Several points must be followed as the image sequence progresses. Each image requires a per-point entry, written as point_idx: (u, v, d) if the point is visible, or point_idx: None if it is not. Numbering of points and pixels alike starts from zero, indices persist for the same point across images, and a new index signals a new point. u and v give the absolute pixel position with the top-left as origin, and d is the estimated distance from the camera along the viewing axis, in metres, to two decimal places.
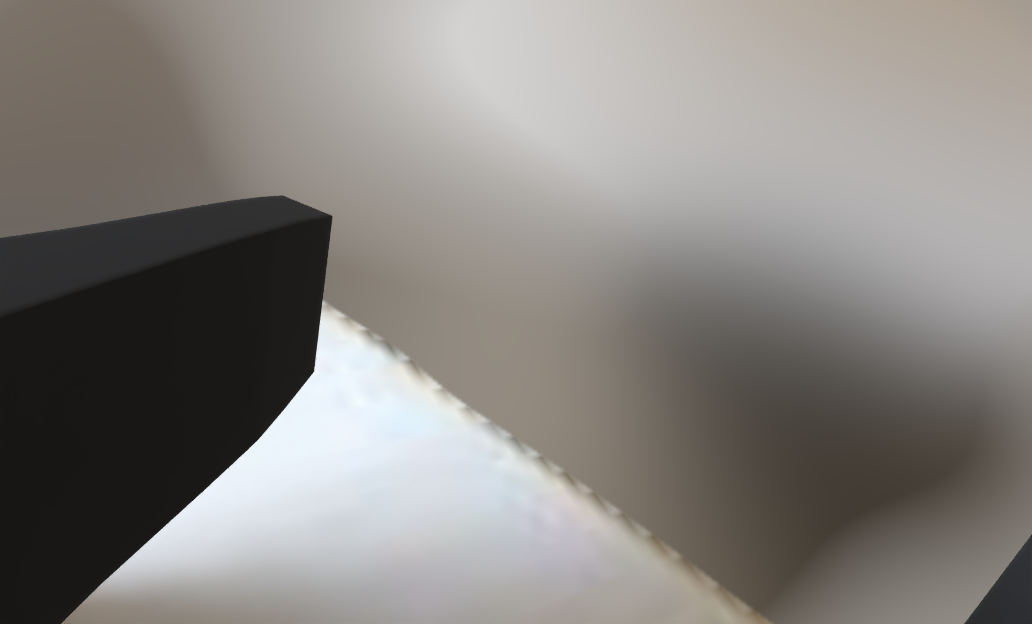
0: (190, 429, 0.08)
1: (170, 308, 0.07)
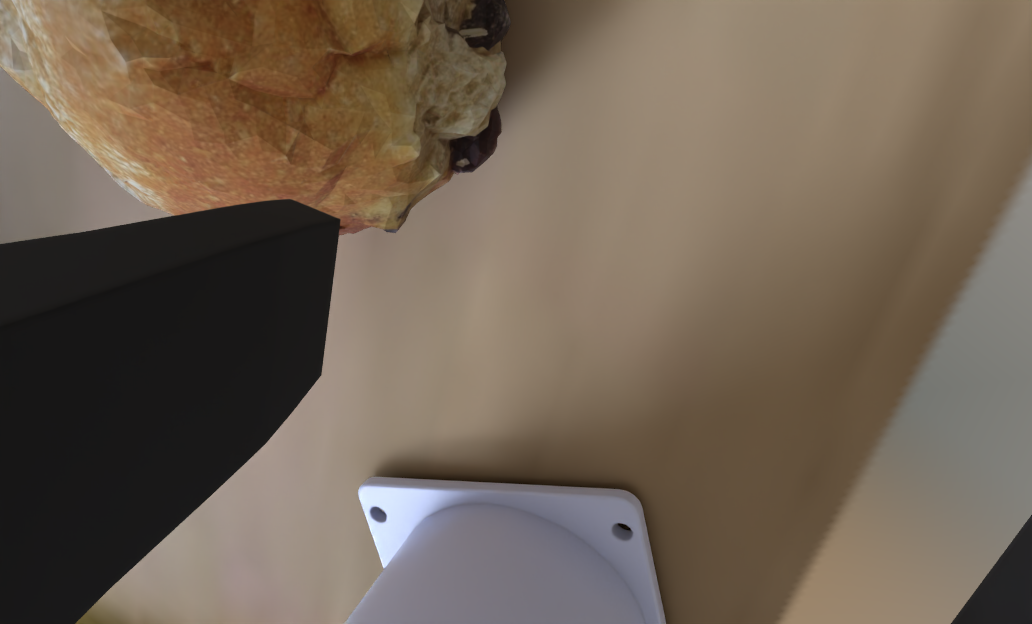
0: (199, 433, 0.08)
1: (180, 312, 0.07)
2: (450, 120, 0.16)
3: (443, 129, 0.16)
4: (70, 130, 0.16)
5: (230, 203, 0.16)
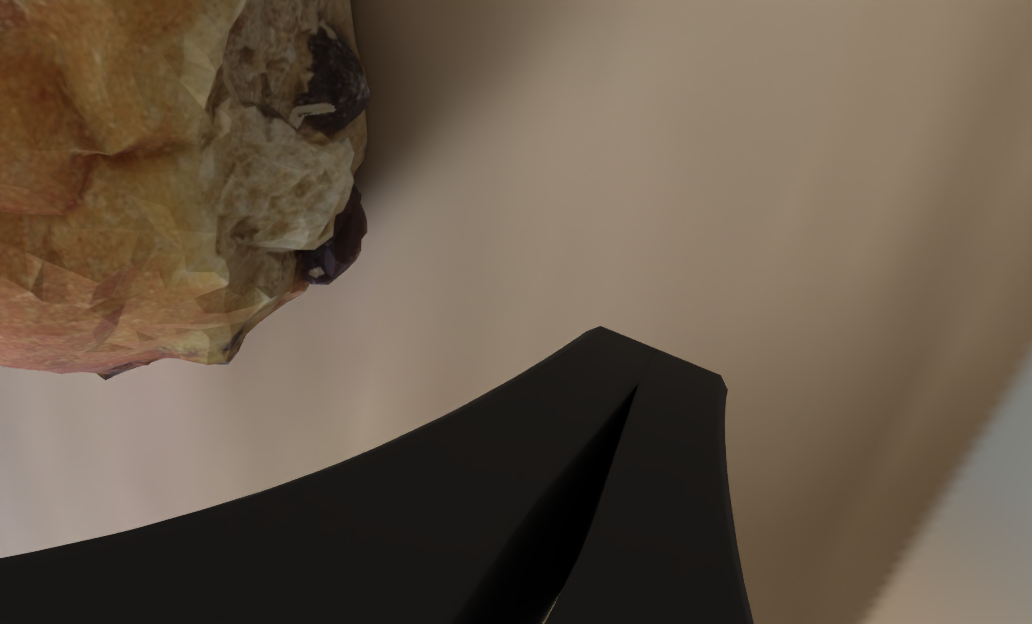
0: (538, 598, 0.08)
1: (569, 489, 0.07)
2: (276, 232, 0.12)
3: (268, 242, 0.12)
4: None
5: None
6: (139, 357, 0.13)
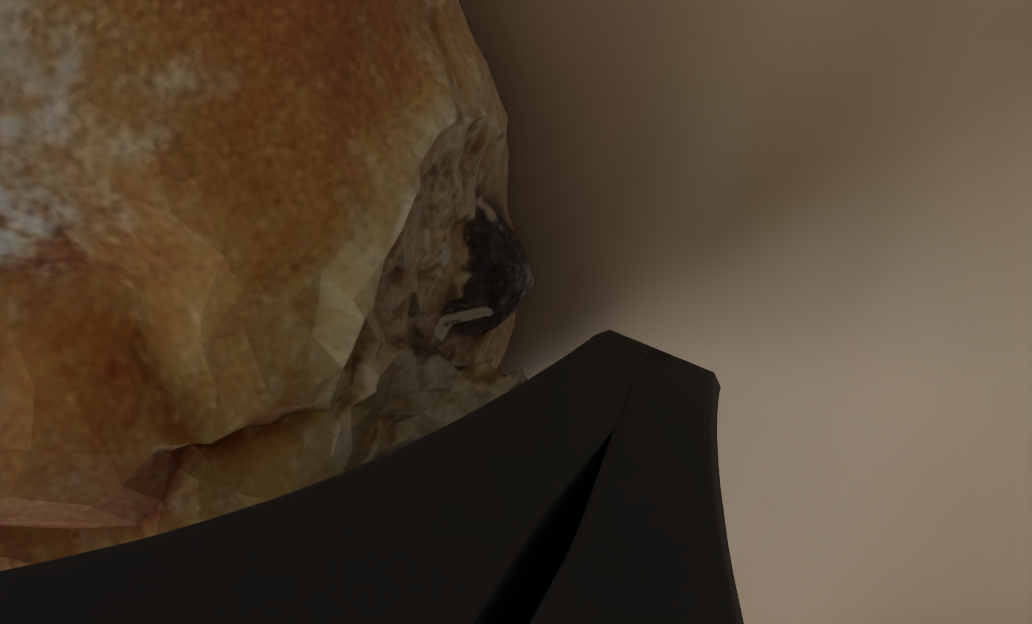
0: None
1: (580, 494, 0.07)
2: None
3: None
4: None
5: None
6: None
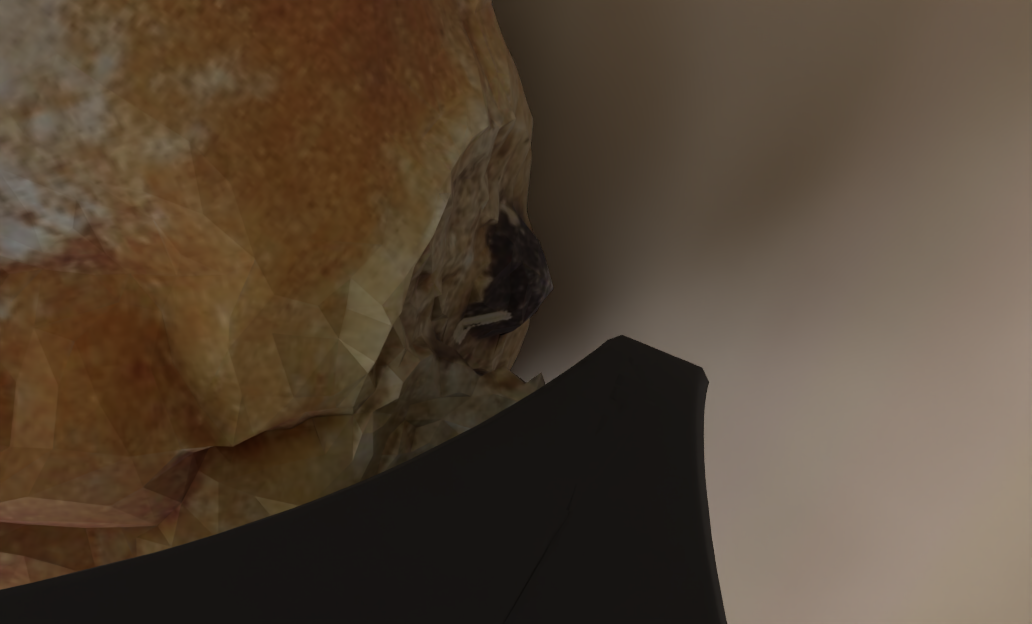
0: None
1: None
2: None
3: None
4: None
5: None
6: None
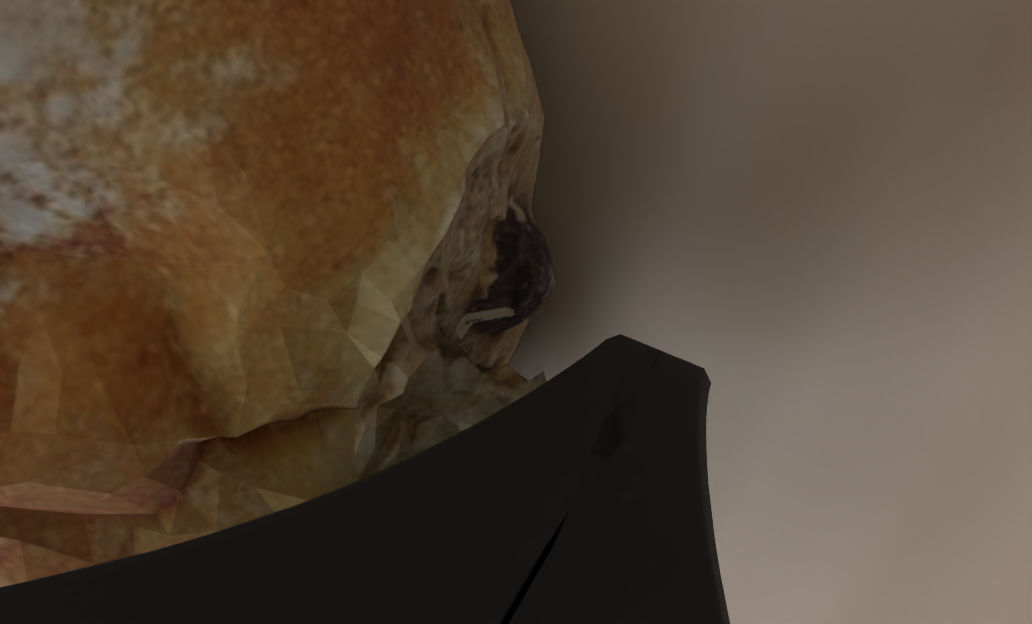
0: None
1: None
2: None
3: None
4: None
5: None
6: None
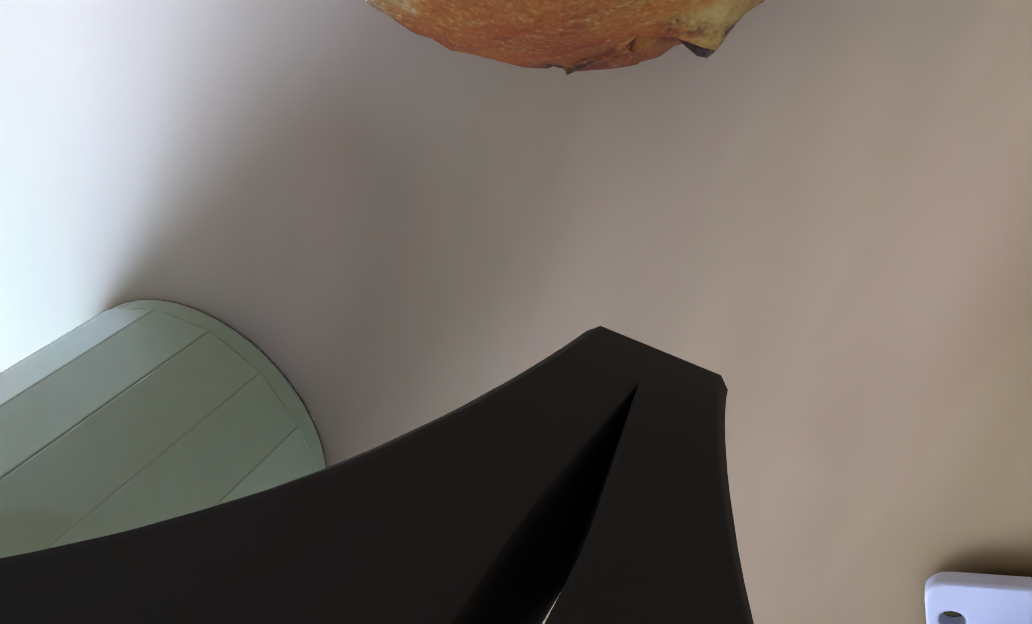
0: (538, 598, 0.08)
1: (569, 489, 0.07)
2: None
3: None
4: None
5: None
6: (645, 32, 0.13)
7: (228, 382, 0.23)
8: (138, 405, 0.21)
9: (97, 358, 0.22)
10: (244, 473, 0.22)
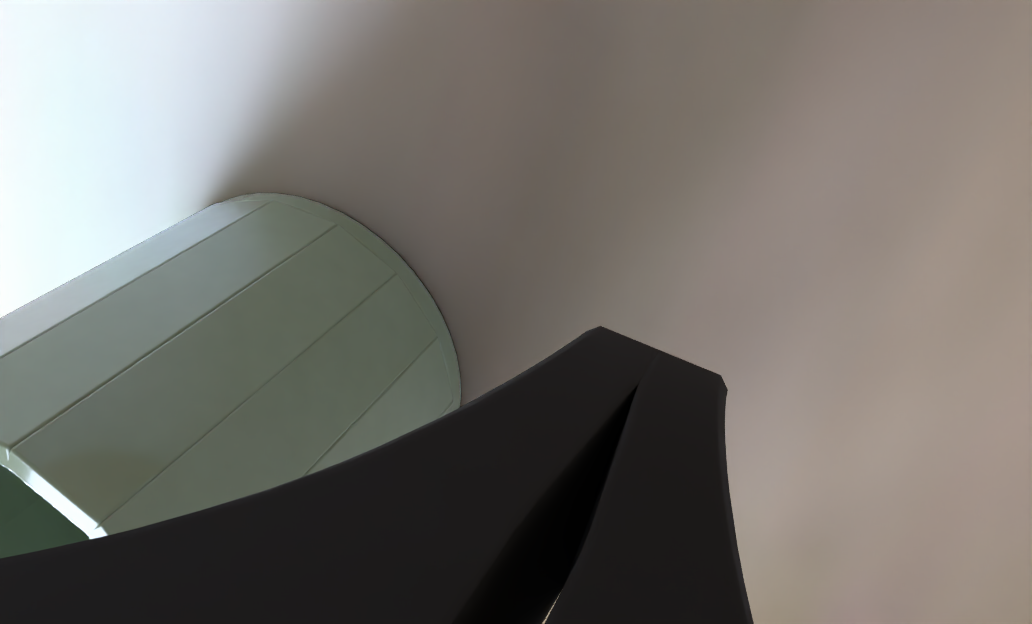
0: (538, 598, 0.08)
1: (569, 489, 0.07)
2: None
3: None
4: None
5: None
6: None
7: (365, 280, 0.20)
8: (273, 296, 0.18)
9: (219, 245, 0.19)
10: (388, 383, 0.19)
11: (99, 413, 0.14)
